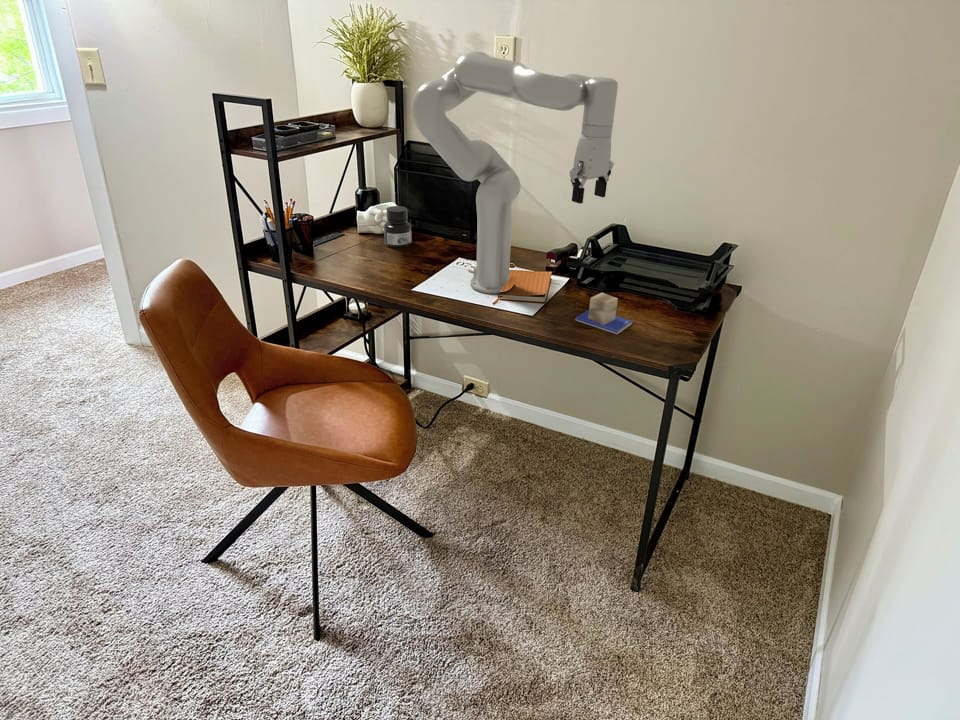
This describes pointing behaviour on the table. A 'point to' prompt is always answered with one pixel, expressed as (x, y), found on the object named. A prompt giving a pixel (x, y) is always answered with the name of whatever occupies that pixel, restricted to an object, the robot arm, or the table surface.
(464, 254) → the table surface
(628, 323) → the hard drive
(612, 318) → the beech block
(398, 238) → the ink bottle
